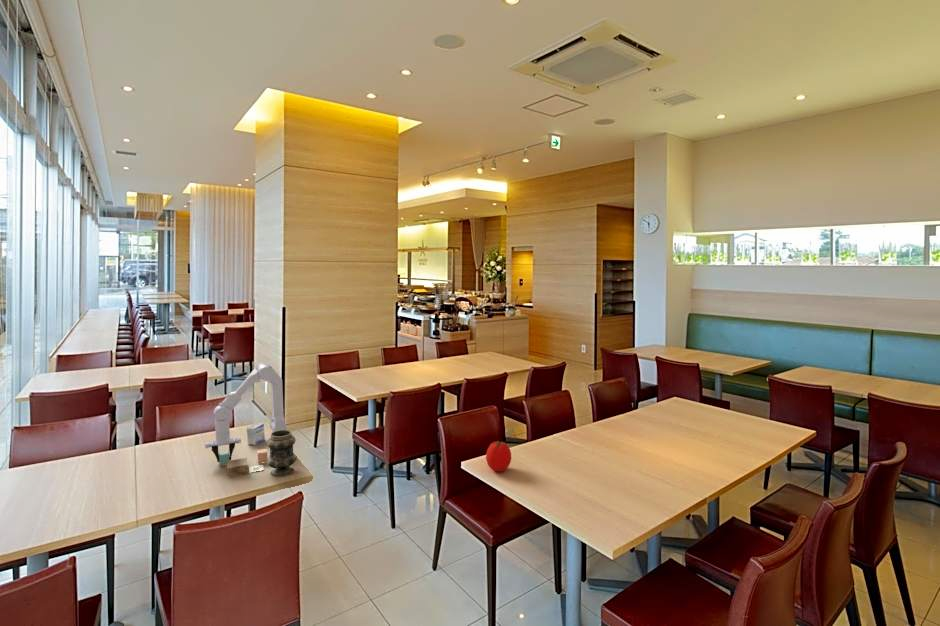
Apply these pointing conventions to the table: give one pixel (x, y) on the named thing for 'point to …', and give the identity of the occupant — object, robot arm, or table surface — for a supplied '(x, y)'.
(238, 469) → the walnut block
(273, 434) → the apothecary jar
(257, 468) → the card
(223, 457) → the teal block
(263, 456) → the terracotta block
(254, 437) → the medicine box
